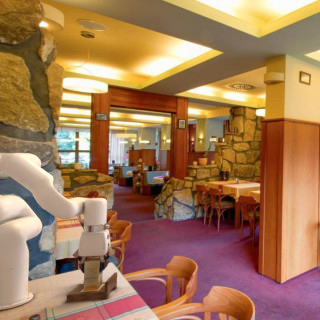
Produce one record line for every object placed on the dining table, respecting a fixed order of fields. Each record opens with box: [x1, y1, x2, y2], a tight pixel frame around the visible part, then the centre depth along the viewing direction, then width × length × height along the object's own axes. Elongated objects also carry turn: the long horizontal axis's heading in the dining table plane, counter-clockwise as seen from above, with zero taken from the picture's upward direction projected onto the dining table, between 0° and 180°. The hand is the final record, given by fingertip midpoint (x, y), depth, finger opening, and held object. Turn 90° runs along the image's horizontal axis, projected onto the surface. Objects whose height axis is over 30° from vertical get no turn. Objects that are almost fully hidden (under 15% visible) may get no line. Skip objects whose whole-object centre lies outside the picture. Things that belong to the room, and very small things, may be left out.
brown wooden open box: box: [65, 271, 118, 303], centre depth 118 cm, size 14×10×7 cm
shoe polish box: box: [83, 257, 104, 291], centre depth 118 cm, size 5×5×12 cm
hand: (93, 271), depth 118 cm, fingers closed on shoe polish box, 5 cm apart
